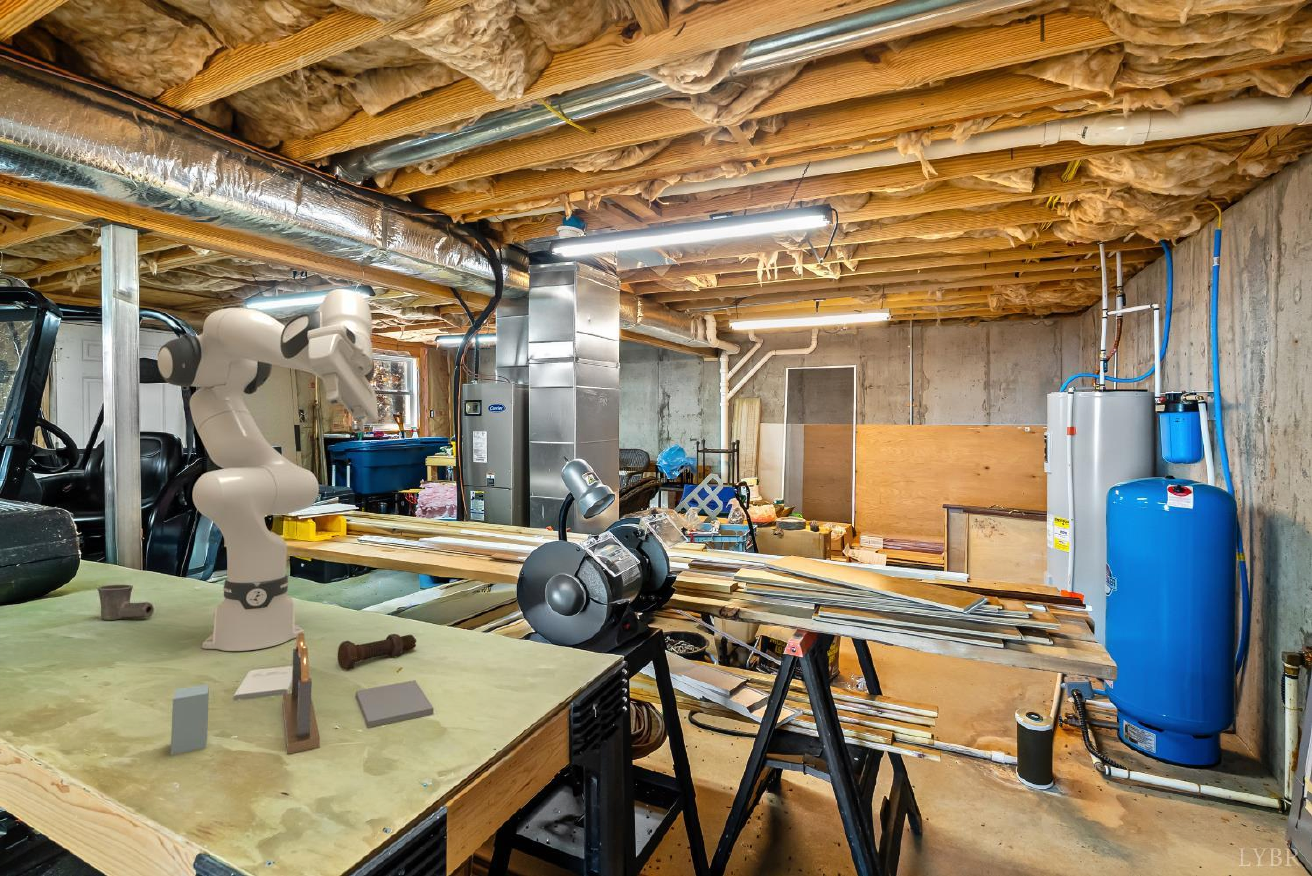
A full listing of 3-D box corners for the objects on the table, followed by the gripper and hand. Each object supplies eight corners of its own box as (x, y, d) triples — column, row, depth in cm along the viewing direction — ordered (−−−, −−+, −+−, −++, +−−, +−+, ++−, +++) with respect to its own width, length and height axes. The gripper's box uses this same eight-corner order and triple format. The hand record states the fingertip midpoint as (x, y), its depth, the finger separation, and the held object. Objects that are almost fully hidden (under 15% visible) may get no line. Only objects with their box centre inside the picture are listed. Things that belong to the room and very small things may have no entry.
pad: (355, 696, 107) (355, 690, 107) (414, 685, 113) (415, 679, 113) (368, 727, 96) (368, 721, 96) (433, 713, 101) (433, 707, 101)
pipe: (139, 623, 146) (140, 590, 146) (87, 621, 146) (88, 588, 146) (160, 616, 152) (161, 584, 152) (110, 614, 152) (111, 583, 152)
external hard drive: (232, 704, 105) (248, 678, 116) (287, 697, 108) (297, 672, 119) (233, 694, 105) (248, 669, 116) (287, 688, 108) (297, 664, 119)
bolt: (414, 659, 132) (343, 676, 120) (404, 643, 135) (334, 658, 123) (422, 639, 130) (351, 654, 118) (412, 623, 133) (342, 636, 121)
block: (173, 743, 89) (175, 689, 90) (207, 736, 92) (209, 683, 92) (170, 755, 86) (172, 698, 86) (205, 748, 88) (207, 693, 88)
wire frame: (282, 703, 104) (285, 624, 104) (309, 698, 106) (311, 621, 106) (287, 754, 87) (291, 660, 87) (319, 747, 89) (322, 655, 90)
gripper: (354, 393, 123) (353, 449, 116) (302, 325, 106) (298, 386, 99) (385, 386, 124) (387, 442, 117) (339, 317, 106) (337, 378, 99)
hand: (346, 416), depth 108 cm, fingers open, 8 cm apart
